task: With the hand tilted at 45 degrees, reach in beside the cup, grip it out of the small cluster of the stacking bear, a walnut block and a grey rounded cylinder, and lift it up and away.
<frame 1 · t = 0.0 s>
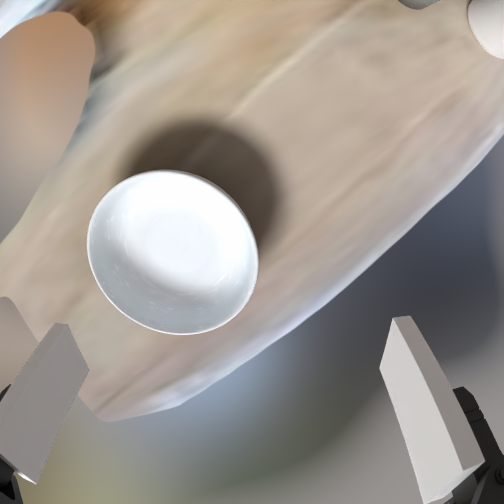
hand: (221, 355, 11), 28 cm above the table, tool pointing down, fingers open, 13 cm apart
serving bowl: (179, 238, 40), on the table
cup: (487, 28, 24), on the table
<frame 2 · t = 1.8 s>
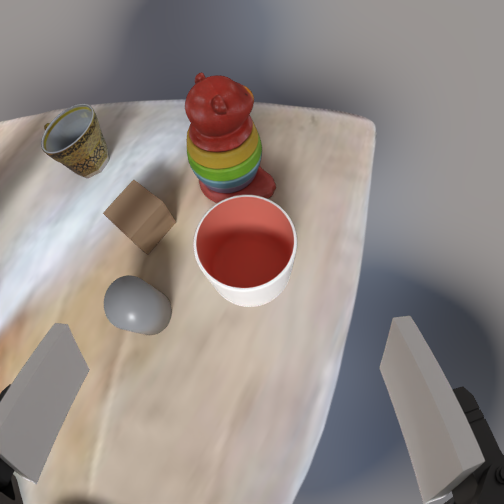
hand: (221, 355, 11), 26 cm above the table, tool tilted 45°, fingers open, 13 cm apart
stacking bear: (232, 178, 44), on the table
grey rounded cylinder: (149, 312, 38), on the table
ceramic cup: (88, 161, 47), on the table
cup: (250, 269, 39), on the table
walnut block: (148, 226, 42), on the table
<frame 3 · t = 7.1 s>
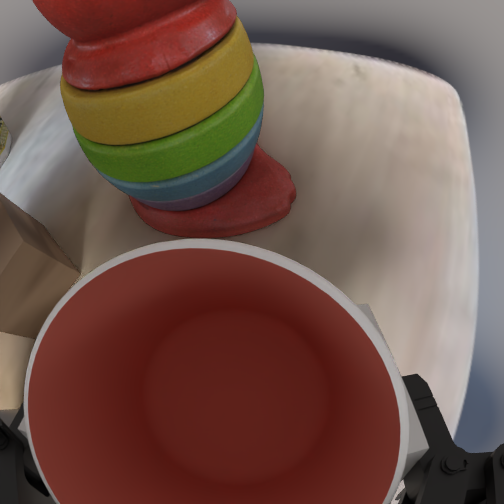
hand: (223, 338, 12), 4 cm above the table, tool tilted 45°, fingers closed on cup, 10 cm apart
stacking bear: (200, 173, 20), on the table
cup: (236, 397, 15), on the table, touching gripper
walnut block: (37, 279, 18), on the table
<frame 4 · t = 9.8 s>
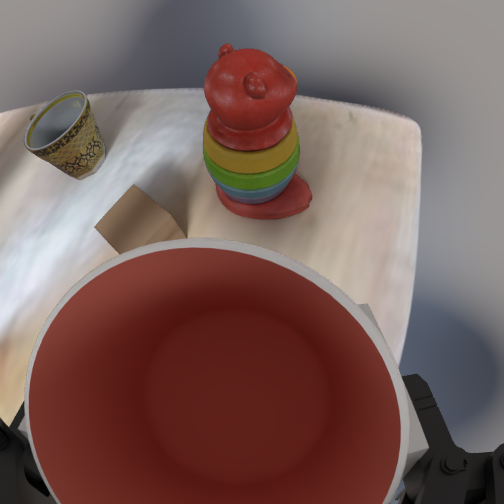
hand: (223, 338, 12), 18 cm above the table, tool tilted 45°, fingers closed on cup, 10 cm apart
stacking bear: (258, 183, 35), on the table
ceramic cup: (81, 159, 39), on the table
cup: (236, 397, 15), point 14 cm above the table, touching gripper
walnut block: (151, 243, 34), on the table
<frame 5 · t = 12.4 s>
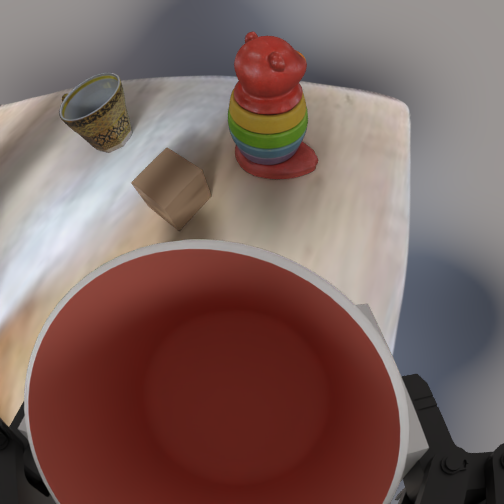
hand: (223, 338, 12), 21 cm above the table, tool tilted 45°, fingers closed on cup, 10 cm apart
stacking bear: (271, 151, 40), on the table
ceramic cup: (108, 136, 44), on the table
cup: (236, 398, 15), point 17 cm above the table, touching gripper
walnut block: (179, 201, 38), on the table
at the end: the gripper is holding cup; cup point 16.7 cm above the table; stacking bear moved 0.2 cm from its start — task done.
